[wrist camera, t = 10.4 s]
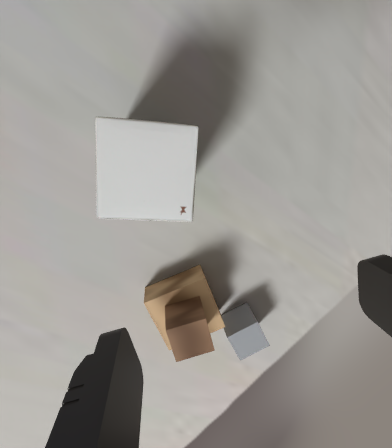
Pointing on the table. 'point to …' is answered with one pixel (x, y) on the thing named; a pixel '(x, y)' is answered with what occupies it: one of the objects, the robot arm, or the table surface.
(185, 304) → the walnut cube
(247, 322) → the grey painted cube
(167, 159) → the supplement box
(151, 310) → the oak base block
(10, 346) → the table surface
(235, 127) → the table surface
